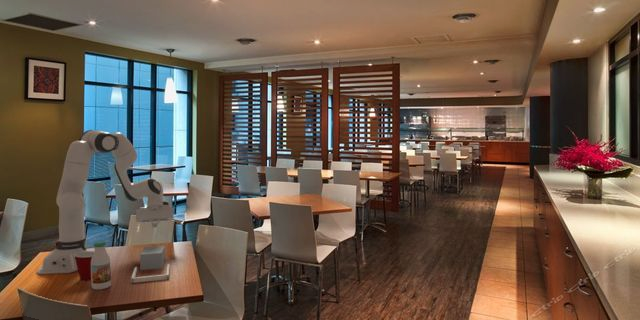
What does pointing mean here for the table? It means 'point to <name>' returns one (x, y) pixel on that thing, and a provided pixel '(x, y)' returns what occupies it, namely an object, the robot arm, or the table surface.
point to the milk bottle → (100, 267)
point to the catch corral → (149, 278)
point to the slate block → (152, 257)
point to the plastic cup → (84, 264)
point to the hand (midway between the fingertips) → (154, 226)
